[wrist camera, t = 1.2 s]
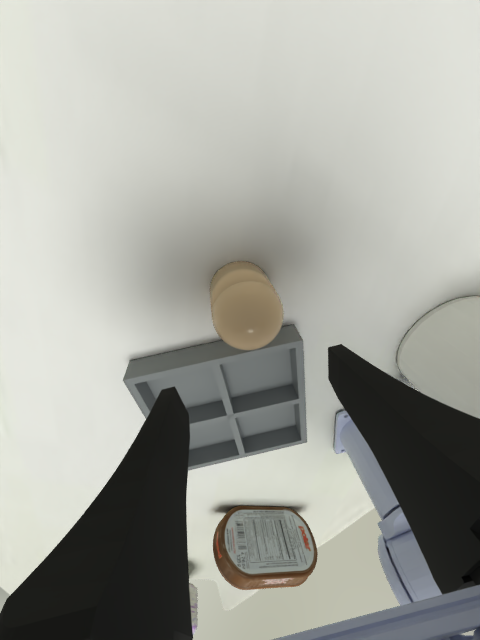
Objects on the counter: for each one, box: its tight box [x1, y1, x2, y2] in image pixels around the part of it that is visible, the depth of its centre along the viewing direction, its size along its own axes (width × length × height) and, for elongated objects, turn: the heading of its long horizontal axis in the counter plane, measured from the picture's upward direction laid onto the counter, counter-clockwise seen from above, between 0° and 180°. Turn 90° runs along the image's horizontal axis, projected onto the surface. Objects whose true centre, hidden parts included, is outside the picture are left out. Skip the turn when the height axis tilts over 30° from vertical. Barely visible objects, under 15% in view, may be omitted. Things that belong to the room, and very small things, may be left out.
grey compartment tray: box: [123, 324, 307, 470], centre depth 23 cm, size 14×14×2 cm
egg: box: [210, 261, 284, 350], centre depth 16 cm, size 4×4×6 cm
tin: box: [213, 506, 317, 590], centre depth 35 cm, size 15×3×8 cm, turn 68°
